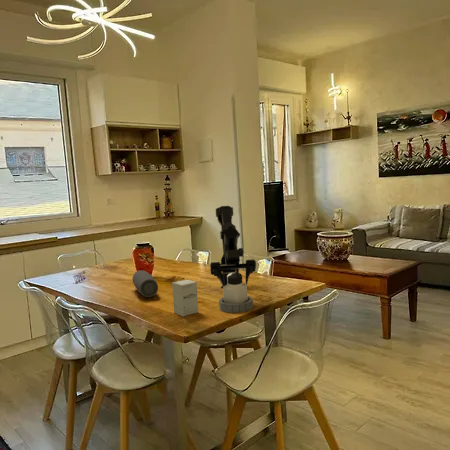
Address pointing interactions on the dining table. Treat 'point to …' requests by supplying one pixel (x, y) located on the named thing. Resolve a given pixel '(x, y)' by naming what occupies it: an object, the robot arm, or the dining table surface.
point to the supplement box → (185, 297)
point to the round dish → (236, 306)
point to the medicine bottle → (235, 289)
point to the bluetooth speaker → (145, 283)
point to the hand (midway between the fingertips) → (235, 284)
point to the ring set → (84, 273)
